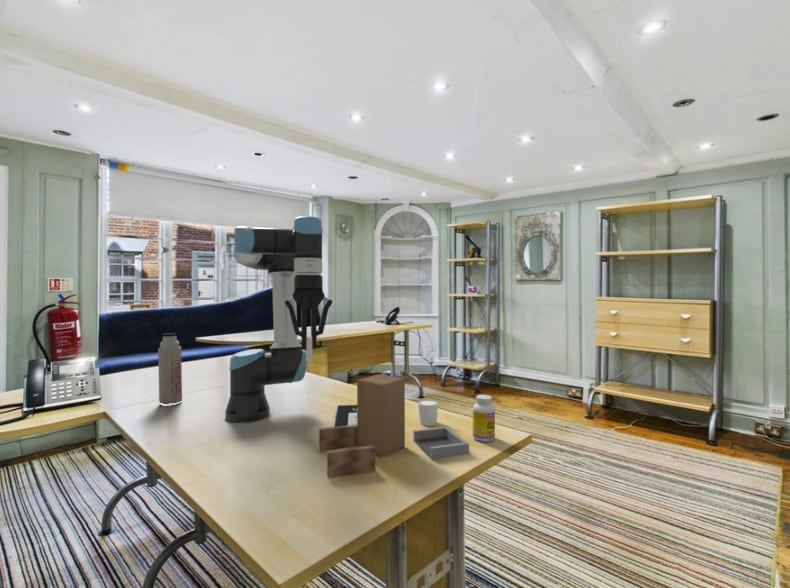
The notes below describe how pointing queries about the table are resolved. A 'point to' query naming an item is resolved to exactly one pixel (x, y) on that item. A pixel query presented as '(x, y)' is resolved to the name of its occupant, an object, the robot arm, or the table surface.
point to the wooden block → (381, 413)
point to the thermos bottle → (170, 370)
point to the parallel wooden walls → (345, 451)
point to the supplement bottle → (483, 419)
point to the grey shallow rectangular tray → (440, 442)
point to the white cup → (428, 412)
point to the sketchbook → (346, 415)
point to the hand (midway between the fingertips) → (309, 360)
